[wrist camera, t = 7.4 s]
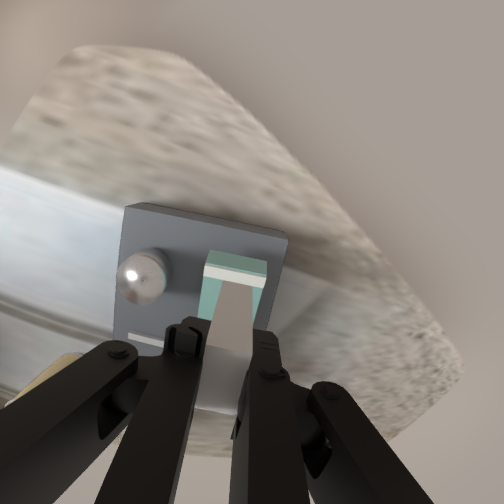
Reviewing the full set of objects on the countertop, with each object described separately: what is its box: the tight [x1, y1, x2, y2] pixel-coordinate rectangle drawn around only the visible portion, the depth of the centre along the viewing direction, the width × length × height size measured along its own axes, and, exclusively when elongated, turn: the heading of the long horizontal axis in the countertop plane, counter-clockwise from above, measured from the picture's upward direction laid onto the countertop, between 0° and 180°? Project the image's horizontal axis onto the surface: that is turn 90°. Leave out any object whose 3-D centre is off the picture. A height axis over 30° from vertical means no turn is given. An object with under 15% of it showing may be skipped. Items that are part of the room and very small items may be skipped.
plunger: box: [116, 248, 173, 305], centre depth 23 cm, size 4×4×3 cm
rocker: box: [197, 249, 267, 322], centre depth 23 cm, size 4×7×2 cm, turn 168°
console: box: [113, 203, 289, 412], centre depth 28 cm, size 13×17×5 cm
